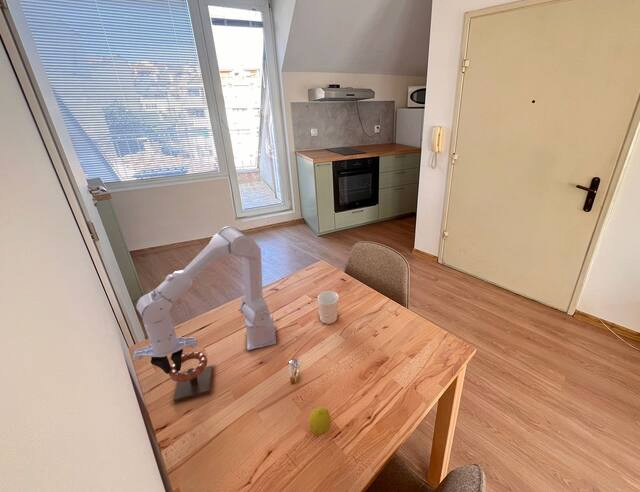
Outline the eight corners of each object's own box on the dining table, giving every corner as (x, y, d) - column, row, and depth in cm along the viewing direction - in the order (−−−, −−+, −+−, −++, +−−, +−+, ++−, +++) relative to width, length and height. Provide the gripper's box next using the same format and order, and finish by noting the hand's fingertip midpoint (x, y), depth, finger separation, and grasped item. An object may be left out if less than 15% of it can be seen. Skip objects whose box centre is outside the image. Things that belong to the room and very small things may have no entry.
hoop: (209, 351, 91) (208, 346, 90) (205, 378, 83) (204, 373, 82) (174, 359, 88) (172, 354, 87) (166, 387, 80) (164, 382, 79)
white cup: (342, 315, 116) (342, 295, 112) (330, 328, 110) (329, 307, 106) (326, 308, 120) (326, 288, 116) (314, 319, 114) (313, 299, 110)
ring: (297, 390, 87) (295, 372, 84) (287, 389, 87) (285, 370, 84) (304, 370, 93) (302, 352, 90) (294, 369, 94) (292, 351, 90)
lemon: (310, 420, 79) (309, 401, 76) (331, 419, 80) (330, 400, 76) (309, 443, 74) (307, 423, 71) (331, 441, 75) (330, 422, 71)
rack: (212, 367, 93) (209, 354, 91) (209, 393, 86) (205, 379, 83) (180, 375, 90) (176, 362, 88) (174, 402, 83) (169, 389, 80)
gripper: (194, 317, 84) (203, 352, 89) (134, 329, 79) (148, 364, 85) (190, 335, 78) (200, 371, 83) (125, 349, 73) (140, 386, 79)
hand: (174, 369), depth 84 cm, fingers closed on hoop, 2 cm apart
